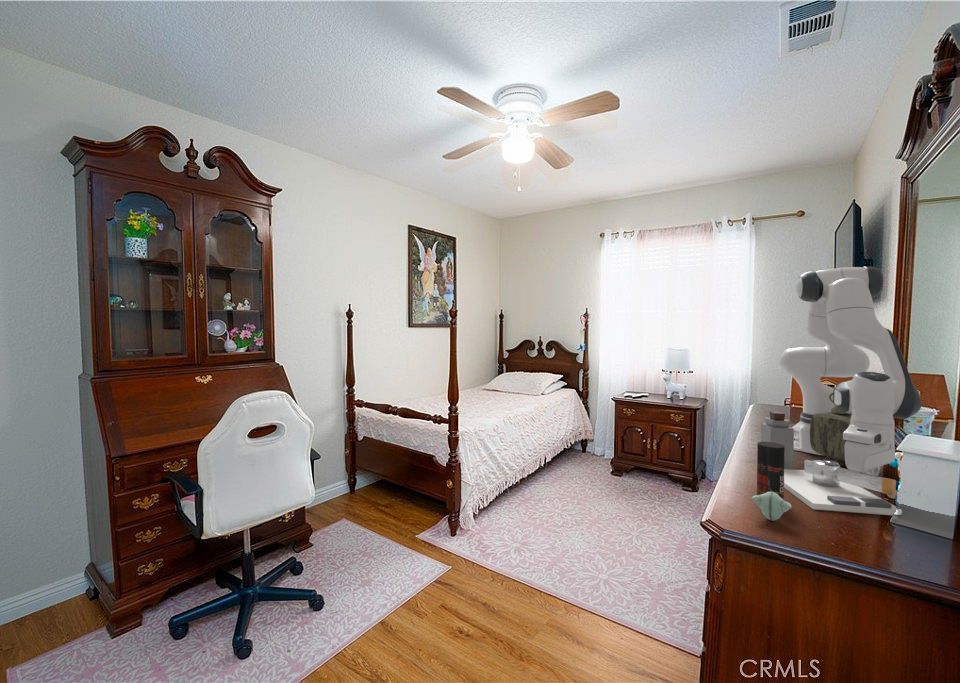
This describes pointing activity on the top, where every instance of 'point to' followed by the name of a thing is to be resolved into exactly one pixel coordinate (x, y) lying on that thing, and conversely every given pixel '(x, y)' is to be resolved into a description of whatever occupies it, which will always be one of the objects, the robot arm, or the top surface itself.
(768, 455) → the deodorant
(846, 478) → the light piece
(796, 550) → the top surface
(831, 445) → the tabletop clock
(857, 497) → the stand
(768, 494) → the mint green pointed piece
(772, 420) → the perfume bottle
